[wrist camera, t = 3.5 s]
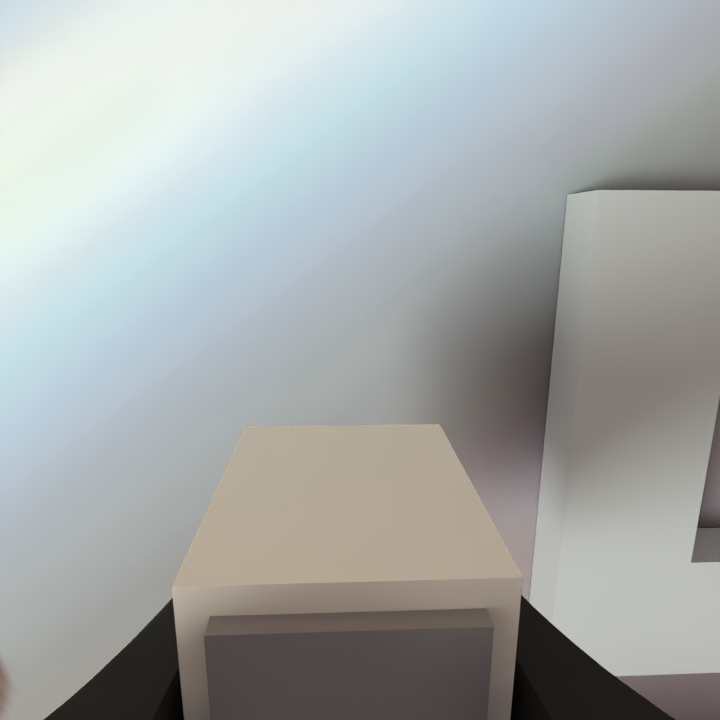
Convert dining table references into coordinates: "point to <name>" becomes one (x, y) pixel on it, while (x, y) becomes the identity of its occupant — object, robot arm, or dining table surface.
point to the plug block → (346, 583)
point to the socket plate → (633, 434)
